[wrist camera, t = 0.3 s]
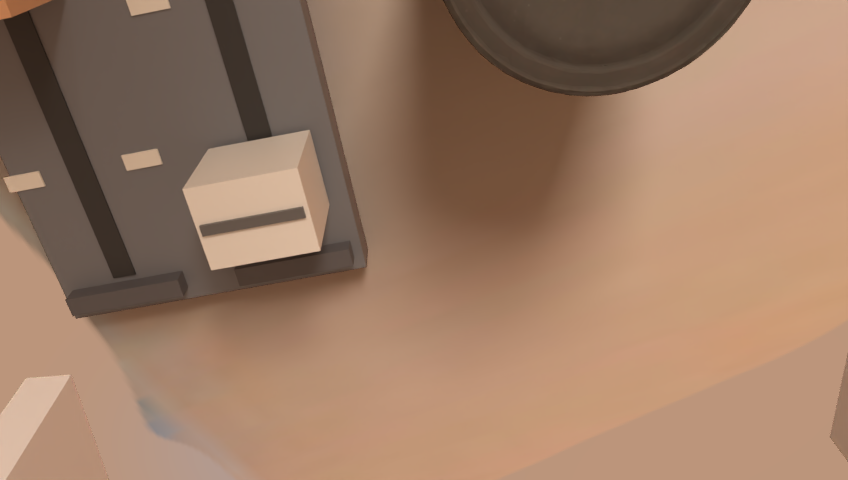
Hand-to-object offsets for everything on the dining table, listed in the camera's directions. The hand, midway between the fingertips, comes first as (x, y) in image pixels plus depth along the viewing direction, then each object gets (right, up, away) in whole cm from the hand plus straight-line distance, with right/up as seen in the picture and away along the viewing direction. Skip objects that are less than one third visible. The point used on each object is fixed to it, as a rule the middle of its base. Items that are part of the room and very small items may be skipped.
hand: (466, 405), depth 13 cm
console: (-14, +11, +24) cm, 30 cm away
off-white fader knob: (-8, +6, +24) cm, 26 cm away
